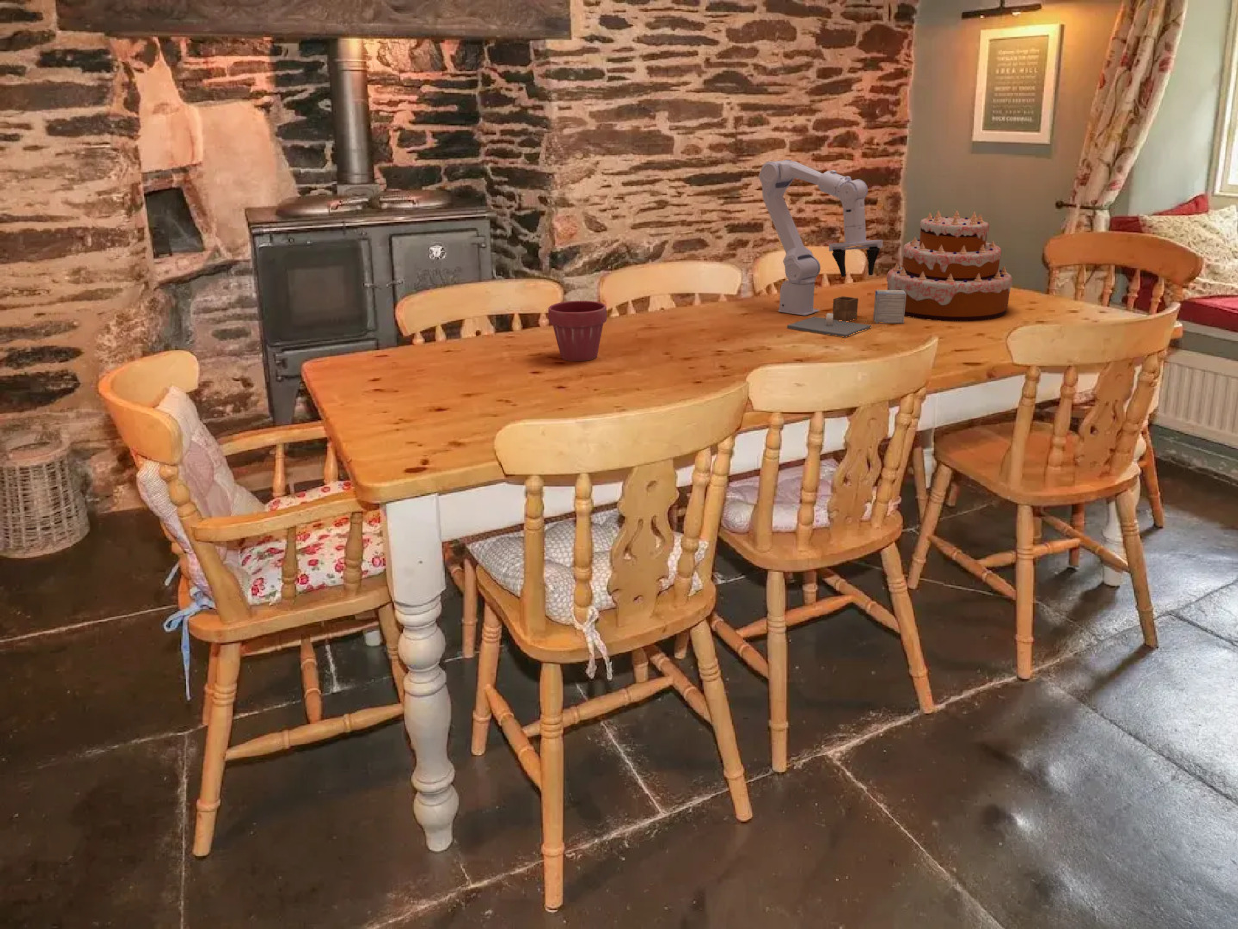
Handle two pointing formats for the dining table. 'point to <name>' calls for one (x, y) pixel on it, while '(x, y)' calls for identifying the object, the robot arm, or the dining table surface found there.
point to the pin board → (828, 326)
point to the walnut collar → (845, 308)
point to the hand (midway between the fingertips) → (857, 275)
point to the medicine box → (889, 306)
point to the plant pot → (578, 328)
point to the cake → (952, 272)
